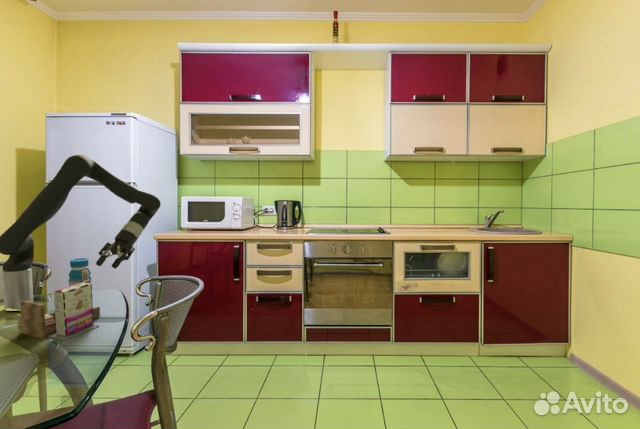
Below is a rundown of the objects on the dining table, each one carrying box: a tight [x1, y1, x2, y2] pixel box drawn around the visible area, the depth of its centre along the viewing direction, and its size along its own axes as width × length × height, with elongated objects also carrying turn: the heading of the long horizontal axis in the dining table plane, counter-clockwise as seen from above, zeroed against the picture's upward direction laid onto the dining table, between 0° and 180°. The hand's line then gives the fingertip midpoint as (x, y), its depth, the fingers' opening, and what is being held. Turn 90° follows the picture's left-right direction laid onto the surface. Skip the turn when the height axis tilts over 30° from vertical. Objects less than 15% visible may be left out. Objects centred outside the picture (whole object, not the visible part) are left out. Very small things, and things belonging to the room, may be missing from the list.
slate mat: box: [47, 323, 100, 342], centre depth 126 cm, size 8×13×1 cm, turn 161°
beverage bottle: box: [68, 257, 92, 287], centre depth 155 cm, size 8×8×20 cm
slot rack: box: [20, 300, 101, 340], centre depth 132 cm, size 11×22×12 cm, turn 161°
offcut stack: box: [45, 313, 55, 325], centre depth 125 cm, size 6×5×5 cm
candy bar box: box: [53, 282, 95, 336], centre depth 126 cm, size 11×5×16 cm, turn 165°
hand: (105, 266), depth 137 cm, fingers open, 8 cm apart
